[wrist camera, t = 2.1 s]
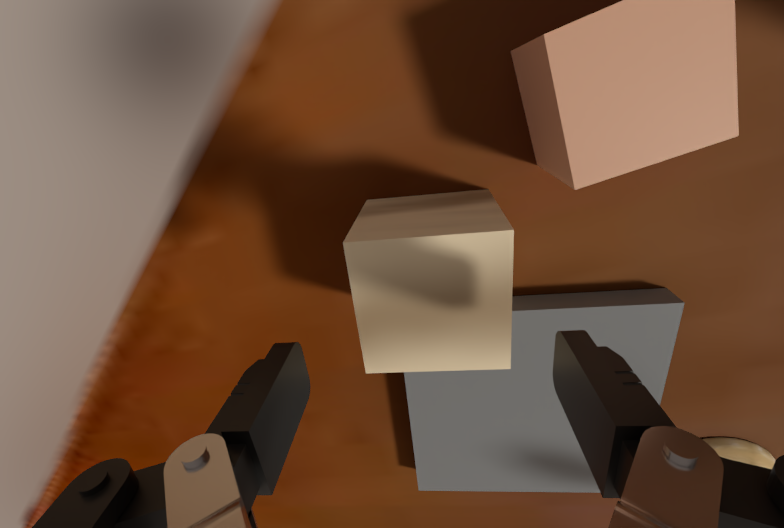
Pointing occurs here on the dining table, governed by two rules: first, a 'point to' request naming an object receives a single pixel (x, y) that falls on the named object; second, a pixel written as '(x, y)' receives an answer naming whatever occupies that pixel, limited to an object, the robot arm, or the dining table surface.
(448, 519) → the dining table surface
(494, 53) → the dining table surface
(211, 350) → the dining table surface
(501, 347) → the birch cube
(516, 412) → the slate tile
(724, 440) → the hand bell
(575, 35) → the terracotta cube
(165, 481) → the robot arm
